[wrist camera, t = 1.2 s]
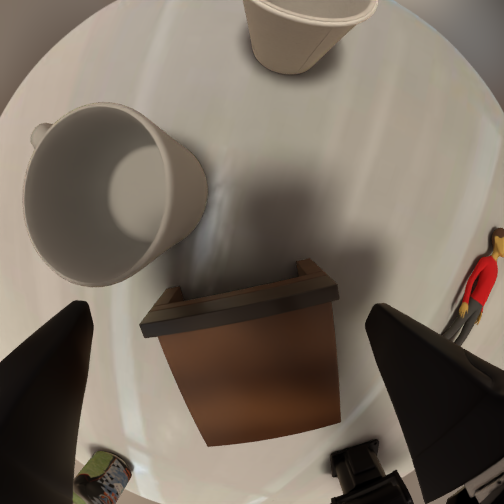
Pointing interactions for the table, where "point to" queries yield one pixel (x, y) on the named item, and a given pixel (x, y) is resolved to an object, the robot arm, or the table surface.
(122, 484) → the beverage can
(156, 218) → the mug
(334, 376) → the wooden riser stand
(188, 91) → the table surface
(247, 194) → the table surface
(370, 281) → the table surface
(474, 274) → the person figure
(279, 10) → the dixie cup
